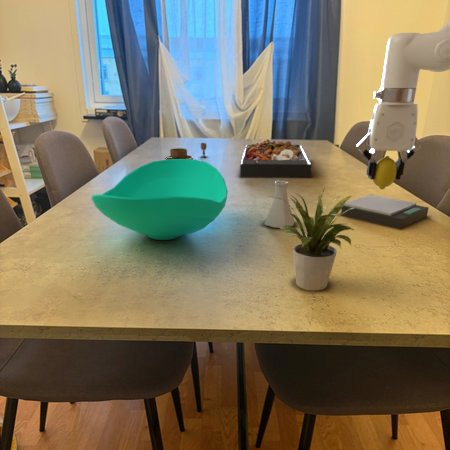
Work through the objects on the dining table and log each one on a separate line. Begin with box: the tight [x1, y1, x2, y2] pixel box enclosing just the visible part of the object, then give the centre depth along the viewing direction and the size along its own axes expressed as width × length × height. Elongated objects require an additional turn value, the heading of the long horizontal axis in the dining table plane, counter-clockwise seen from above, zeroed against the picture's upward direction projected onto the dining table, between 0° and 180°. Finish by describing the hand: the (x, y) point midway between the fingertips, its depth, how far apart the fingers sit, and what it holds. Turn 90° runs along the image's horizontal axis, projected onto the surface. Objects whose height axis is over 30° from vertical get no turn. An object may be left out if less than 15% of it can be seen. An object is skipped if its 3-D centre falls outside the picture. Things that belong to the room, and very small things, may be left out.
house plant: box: [269, 187, 357, 292], centre depth 70 cm, size 14×14×16 cm
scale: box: [340, 194, 429, 230], centre depth 108 cm, size 16×14×3 cm
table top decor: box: [91, 159, 229, 241], centre depth 94 cm, size 40×28×13 cm
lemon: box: [372, 155, 397, 190], centre depth 105 cm, size 6×6×8 cm
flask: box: [263, 180, 295, 229], centre depth 101 cm, size 7×7×10 cm
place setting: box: [164, 142, 208, 160], centre depth 181 cm, size 18×20×6 cm
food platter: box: [239, 139, 313, 179], centre depth 169 cm, size 45×25×10 cm, turn 175°
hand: (383, 177), depth 106 cm, fingers closed on lemon, 5 cm apart
